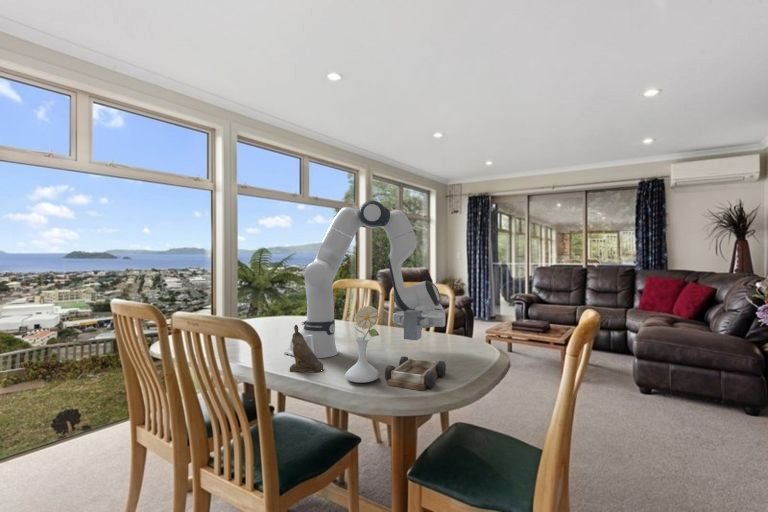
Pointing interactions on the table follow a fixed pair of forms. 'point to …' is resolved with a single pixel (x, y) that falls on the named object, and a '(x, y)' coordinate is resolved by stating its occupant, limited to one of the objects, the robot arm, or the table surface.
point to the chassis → (414, 373)
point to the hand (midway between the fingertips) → (411, 322)
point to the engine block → (412, 325)
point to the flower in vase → (364, 347)
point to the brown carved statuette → (303, 355)
